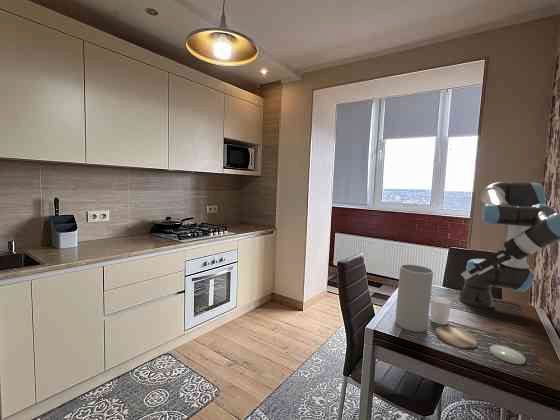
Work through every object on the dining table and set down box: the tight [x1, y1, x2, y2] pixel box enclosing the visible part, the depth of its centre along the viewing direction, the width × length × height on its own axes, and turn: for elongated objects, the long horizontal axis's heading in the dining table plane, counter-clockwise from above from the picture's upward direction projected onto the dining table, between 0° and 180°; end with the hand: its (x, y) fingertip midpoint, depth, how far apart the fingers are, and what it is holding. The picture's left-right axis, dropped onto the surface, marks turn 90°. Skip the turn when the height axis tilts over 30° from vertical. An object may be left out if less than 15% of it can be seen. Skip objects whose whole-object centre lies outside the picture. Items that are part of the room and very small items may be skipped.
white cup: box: [429, 295, 452, 326], centre depth 127 cm, size 8×8×10 cm
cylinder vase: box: [394, 263, 434, 333], centre depth 121 cm, size 12×12×25 cm
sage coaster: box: [489, 344, 526, 365], centre depth 103 cm, size 10×10×1 cm
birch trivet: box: [435, 326, 478, 349], centre depth 113 cm, size 14×14×1 cm
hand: (470, 274), depth 117 cm, fingers open, 13 cm apart
